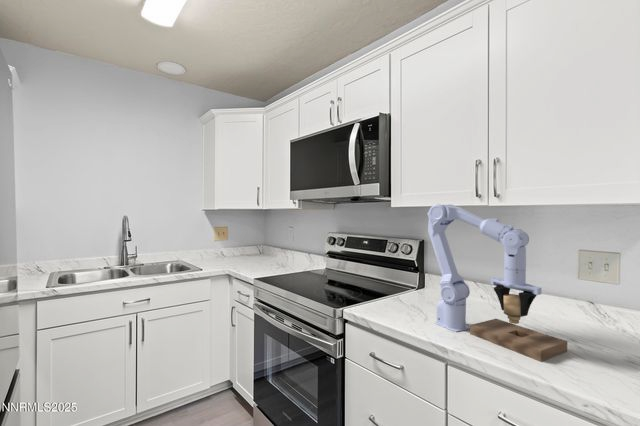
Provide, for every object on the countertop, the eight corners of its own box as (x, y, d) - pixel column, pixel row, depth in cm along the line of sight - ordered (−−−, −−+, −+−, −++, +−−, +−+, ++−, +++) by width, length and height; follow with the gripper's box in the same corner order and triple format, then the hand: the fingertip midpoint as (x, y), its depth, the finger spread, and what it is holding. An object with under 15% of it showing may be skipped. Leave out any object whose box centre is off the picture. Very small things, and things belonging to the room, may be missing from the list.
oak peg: (499, 321, 100) (499, 295, 100) (510, 317, 103) (510, 293, 102) (517, 326, 95) (517, 300, 95) (528, 323, 98) (528, 297, 98)
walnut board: (470, 333, 107) (470, 324, 107) (496, 326, 114) (496, 318, 114) (540, 361, 88) (541, 350, 88) (567, 351, 95) (567, 341, 95)
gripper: (484, 265, 103) (484, 307, 104) (531, 274, 91) (531, 321, 91) (498, 264, 107) (497, 305, 107) (545, 272, 94) (545, 318, 94)
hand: (514, 312), depth 99 cm, fingers closed on oak peg, 5 cm apart
